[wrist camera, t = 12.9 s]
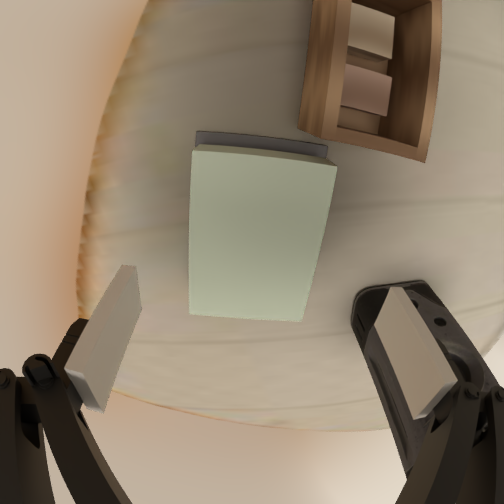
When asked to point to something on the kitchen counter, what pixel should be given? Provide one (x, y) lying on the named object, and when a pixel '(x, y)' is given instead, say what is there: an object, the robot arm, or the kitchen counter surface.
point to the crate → (373, 74)
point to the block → (255, 230)
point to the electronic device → (383, 374)
